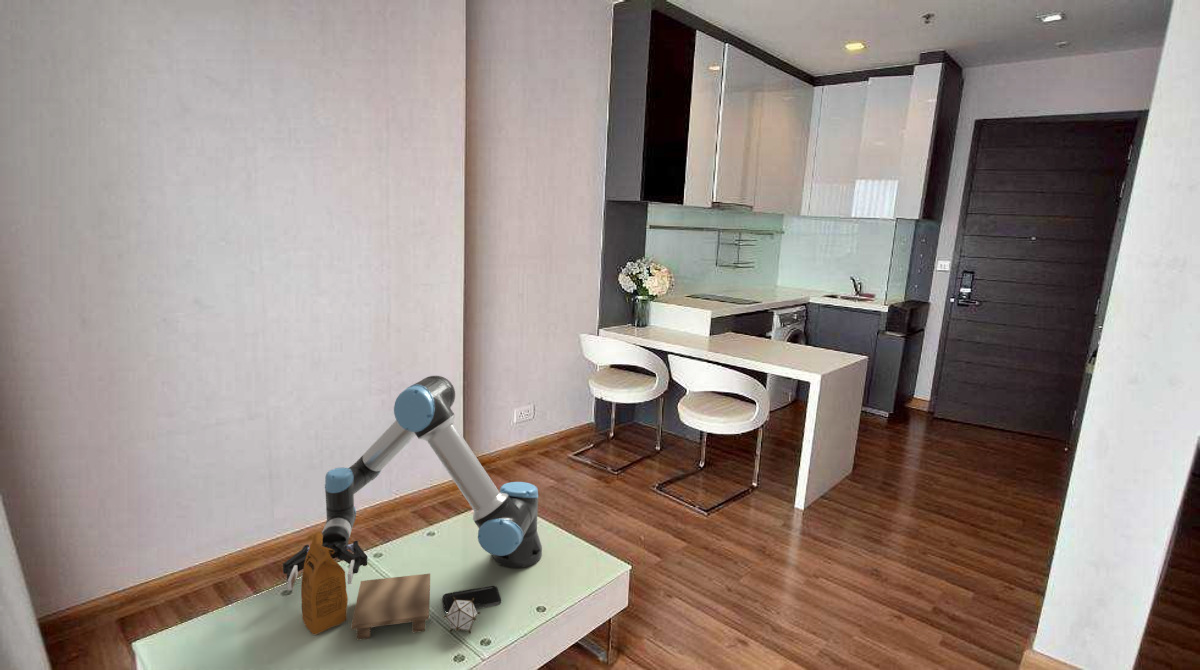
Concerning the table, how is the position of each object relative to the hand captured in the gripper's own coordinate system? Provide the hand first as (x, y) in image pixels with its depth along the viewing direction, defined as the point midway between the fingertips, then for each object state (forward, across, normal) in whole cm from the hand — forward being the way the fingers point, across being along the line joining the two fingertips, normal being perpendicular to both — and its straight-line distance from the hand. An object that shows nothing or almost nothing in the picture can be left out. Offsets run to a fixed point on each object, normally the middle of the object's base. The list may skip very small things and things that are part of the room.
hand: (319, 582), depth 145 cm
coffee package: (-3, 0, -12) cm, 12 cm away
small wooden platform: (-1, -17, -12) cm, 21 cm away
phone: (-3, -37, -13) cm, 39 cm away
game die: (+8, -34, -12) cm, 37 cm away
